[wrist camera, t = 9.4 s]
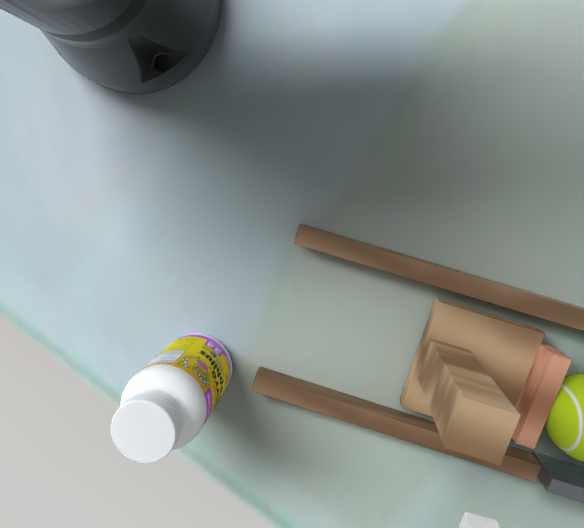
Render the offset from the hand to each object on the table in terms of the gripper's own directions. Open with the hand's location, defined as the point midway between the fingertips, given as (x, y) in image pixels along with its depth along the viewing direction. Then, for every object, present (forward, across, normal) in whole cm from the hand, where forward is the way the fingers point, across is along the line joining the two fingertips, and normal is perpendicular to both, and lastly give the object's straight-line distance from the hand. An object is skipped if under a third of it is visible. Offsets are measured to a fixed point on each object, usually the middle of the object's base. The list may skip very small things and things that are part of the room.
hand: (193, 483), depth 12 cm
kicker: (+30, +16, -5) cm, 35 cm away
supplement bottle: (+30, -7, -12) cm, 34 cm away
